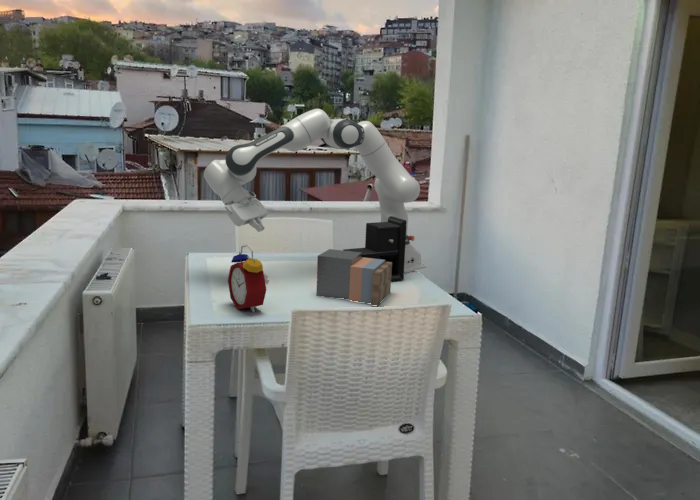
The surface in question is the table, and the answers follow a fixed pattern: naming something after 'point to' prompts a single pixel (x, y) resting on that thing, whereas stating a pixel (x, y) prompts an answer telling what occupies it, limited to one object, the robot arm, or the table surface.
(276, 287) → the table surface
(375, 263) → the slate-blue book
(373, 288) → the walnut end board
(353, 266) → the terracotta book
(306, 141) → the robot arm
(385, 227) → the bookend
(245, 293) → the alarm clock
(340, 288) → the iron bookend
